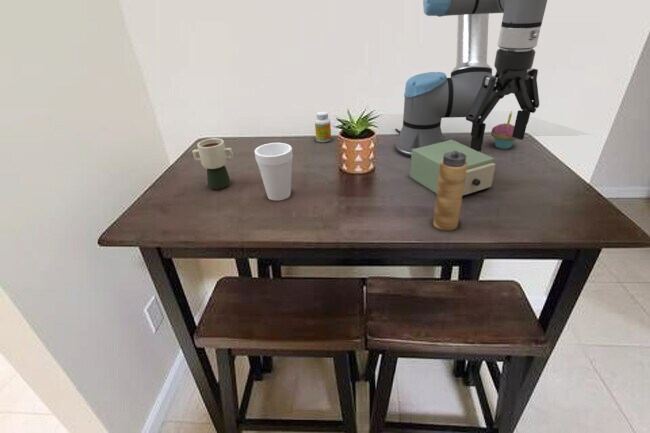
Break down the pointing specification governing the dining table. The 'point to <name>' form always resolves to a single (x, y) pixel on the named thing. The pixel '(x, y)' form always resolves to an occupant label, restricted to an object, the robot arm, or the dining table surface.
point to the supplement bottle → (323, 127)
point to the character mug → (214, 161)
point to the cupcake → (504, 134)
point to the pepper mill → (450, 190)
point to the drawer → (478, 178)
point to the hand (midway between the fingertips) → (497, 143)
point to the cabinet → (430, 156)
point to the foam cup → (275, 169)
